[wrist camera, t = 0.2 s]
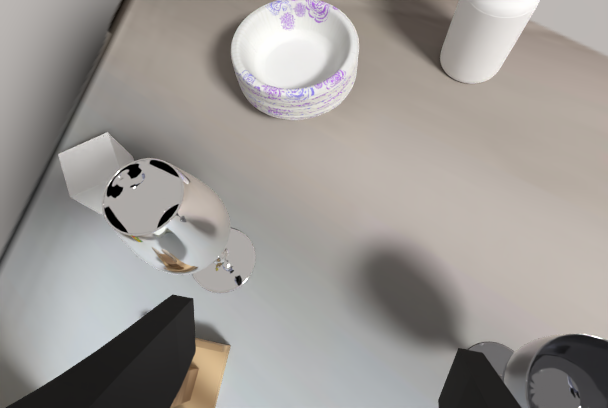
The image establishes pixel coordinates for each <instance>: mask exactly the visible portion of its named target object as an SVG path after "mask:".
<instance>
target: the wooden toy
mask: <svg viewBox="0 0 608 408" xmlns="http://www.w3.org/2000/svg"><path fill="white" fill-rule="evenodd" d="M195 343H196V352H195V355H194V357H193V360H192V362H191V365H190V367H189V370H188V372H187V374H186V377H185V379H184V381H183V384H182V386H181V388H180V390H179V392H178V394H177V396H176V398H175V399H174V401H173V403H172V405H171V407H170V408H215V406H216V402H217V398H218V394H219V390H220V386H221V382H222V378H223V374H224V370H225V366H226V362H227V358H228V354H229V350H230V345H226V344H221V343H217V342H212V341H208V340H203V339H199V338H195Z"/></svg>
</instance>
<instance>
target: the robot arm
mask: <svg viewBox="0 0 608 408" xmlns="http://www.w3.org/2000/svg"><path fill="white" fill-rule="evenodd" d="M195 352H196V343H195V324H194V305H193V298H187V297H182V296H177V295H171V296H170V297H169V298H167V299H166V300H164V301H163V302H162V303H160V304H159V305H158V306H156V307H155V308H154V309H153V310H151V311H150V312H149V313H147V314H146V315H145V316H143V317H142V318H141V319H139V320H138V321H137V322H135V323H134V324H133V325H131V326H130V327H129V328H127V329H126V330H125V331H123V332H122V333H121V334H119V335H118V336H116V337H115V338H114V339H112V340H111V341H110V342H108V343H107V344H105V345H104V346H103V347H101V348H100V349H98V350H97V351H96V352H94V353H93V354H91V355H90V356H88V357H87V358H85V359H84V360H82V361H81V362H79V363H78V364H76V365H75V366H73V367H72V368H70V369H69V370H67V371H66V372H64V373H63V374H61V375H60V376H58V377H56V378H55V379H53V380H52V381H50V382H48V383H47V384H45V385H44V386H42V387H40V388H39V389H37V390H35V391H34V392H32V393H30V394H29V395H27V396H25V397H23V398H22V399H20V400H18V401H17V402H15V403H13V404H11V405H10V406H8V407H6V408H170V407H171V405H172V403H173V401H174V399H175V398H176V396H177V394H178V392H179V390H180V388H181V386H182V384H183V381H184V379H185V377H186V374H187V372H188V370H189V367H190V365H191V362H192V360H193V357H194V355H195ZM438 402H439V408H522V407H521V406H520V405H519V403H518V402H517V400H516V399H515V397H514V396H513V395H512V393H511V392H510V390H509V389H508V388H507V386H506V385H505V383H504V382H503V380H502V379H501V378H500V376H499V375H498V373H497V372H496V371H495V369H494V368H493V366H492V365H491V363H490V362H489V361H488V359H487V358H486V356H485V355H484V354H483V353H482V352H476V351H471V350H466V349H460V348H458V351H457V354H456V356H455V359H454V361H453V364H452V366H451V369H450V371H449V374H448V377H447V379H446V382H445V384H444V387H443V389H442V392H441V395H440V397H439V400H438Z"/></svg>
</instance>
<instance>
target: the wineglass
mask: <svg viewBox="0 0 608 408" xmlns="http://www.w3.org/2000/svg"><path fill="white" fill-rule="evenodd" d="M102 212H103V214H104V217H105V219H106V221H107V222H108V224H109V225H110V227H111V228H112V229H113V230H114V231H115V233H116V234H117V235H118V236H119V238H120V239H121V240H122V241H123V242H124V243H125V244H126V245H127V246H128V247H129V248H130V250H131V251H132V252H133V253H135V254H136V255H137V256H138V257H139V258H140V259H141V260H142V261H144V262H145V263H147V264H148V265H150V266H152V267H153V268H155V269H157V270H159V271H162V272H165V273H169V274H174V275H187V274H193V277H194V279H195V280H196V281H197V283H198V284H199V285H200V286H201V287H202V288H204V289H206V290H208V291H210V292H214V293H227V292H230V291H234V290H235V289H237V288H239V287H241V286H242V285H243V284H244V283H245V282H246V281H247V280H248V279H249V278H250V276H251V274H252V272H253V270H254V267H255V262H256V253H255V249H254V246H253V244H252V242H251V240H250V239H249V238H248V237H247V236H246V235H245V234H244V233H242V232H240V231H239V230H236V229H232V228H230V218H229V213H228V211H227V209H226V207H225V205H224V203H223V201H222V200H221V199H220V197H219V196H218V195H217V194H216V193H215V192H214V191H213V190H212V189H211V188H210V187H208V186H207V185H206V184H205V183H203V182H202V181H201V180H199V179H197V178H196V177H194V176H193V175H191V174H189V173H187V172H186V171H184V170H182V169H180V168H178V167H176V166H174V165H172V164H170V163H168V162H166V161H164V160H161V159H157V158H145V159H139V160H136V161H133V162H131V163H129V164H126V165H125V166H123V167H122V168H121V169H119V170H118V171H117V172H116V173H115V174H114V175H113V176H112V178H111V179H110V180H109V181H108V183H107V185H106V187H105V189H104V193H103V196H102Z"/></svg>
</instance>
